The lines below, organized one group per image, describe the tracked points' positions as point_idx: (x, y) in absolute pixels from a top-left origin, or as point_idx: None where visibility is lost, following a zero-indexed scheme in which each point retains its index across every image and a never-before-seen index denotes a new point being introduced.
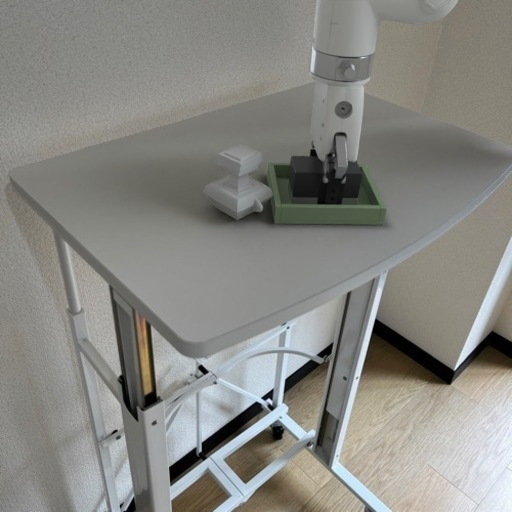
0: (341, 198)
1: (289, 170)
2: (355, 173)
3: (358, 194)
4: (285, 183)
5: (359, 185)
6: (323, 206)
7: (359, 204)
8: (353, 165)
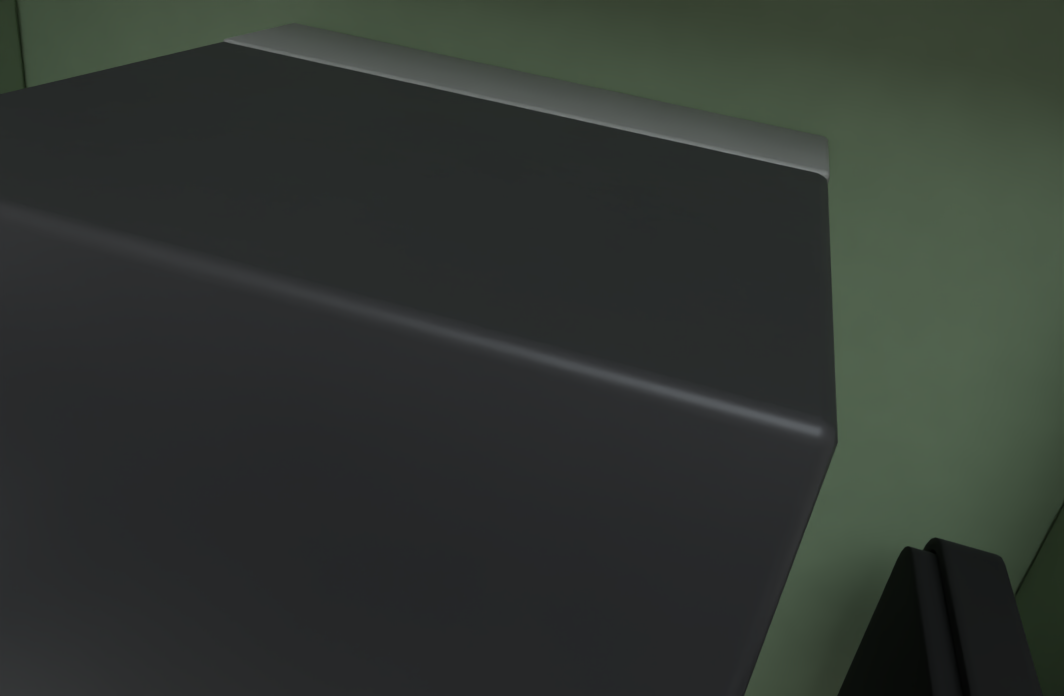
0: (1020, 670)
1: None
2: (757, 607)
3: (823, 198)
4: None
5: (831, 293)
6: None
7: (794, 68)
8: (275, 432)
